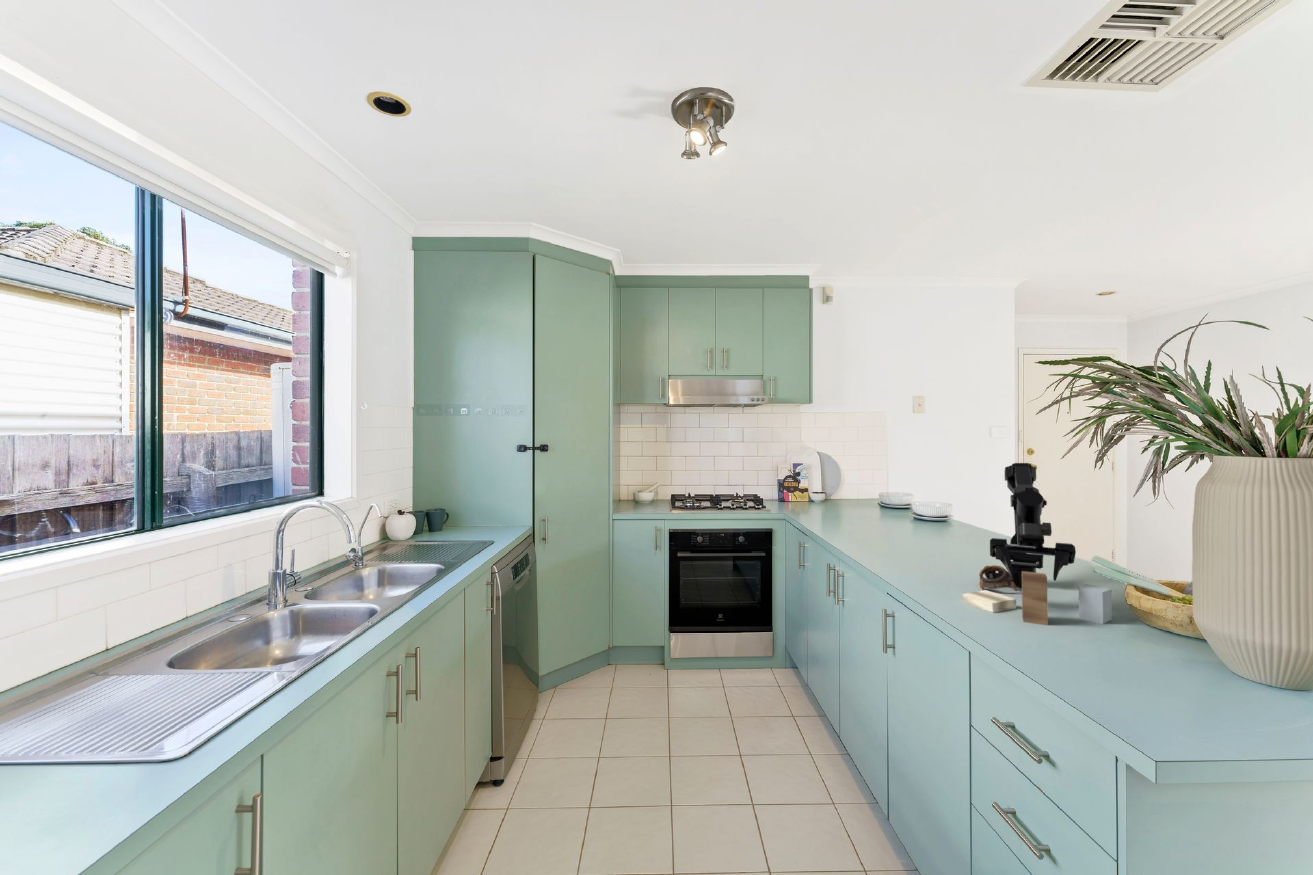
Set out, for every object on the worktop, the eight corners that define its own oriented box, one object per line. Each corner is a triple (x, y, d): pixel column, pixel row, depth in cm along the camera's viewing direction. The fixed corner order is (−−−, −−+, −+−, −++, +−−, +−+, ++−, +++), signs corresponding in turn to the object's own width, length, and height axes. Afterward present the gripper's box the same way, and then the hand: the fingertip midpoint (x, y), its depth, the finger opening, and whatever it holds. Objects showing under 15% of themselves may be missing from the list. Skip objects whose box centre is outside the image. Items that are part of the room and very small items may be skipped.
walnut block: (1022, 616, 139) (1021, 571, 139) (1045, 620, 136) (1045, 573, 136) (1023, 621, 135) (1022, 574, 135) (1047, 625, 133) (1047, 577, 133)
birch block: (985, 600, 154) (985, 589, 154) (1016, 609, 145) (1016, 598, 145) (962, 604, 151) (962, 593, 151) (992, 614, 142) (992, 603, 142)
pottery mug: (1025, 595, 158) (1016, 573, 156) (995, 608, 159) (985, 586, 158) (1001, 574, 170) (992, 553, 168) (973, 586, 171) (964, 566, 169)
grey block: (1088, 614, 139) (1087, 584, 139) (1111, 620, 135) (1111, 588, 135) (1079, 618, 137) (1078, 587, 137) (1102, 624, 133) (1102, 592, 133)
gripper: (989, 509, 148) (990, 556, 138) (1074, 513, 138) (1081, 564, 129) (989, 532, 154) (990, 579, 145) (1070, 538, 145) (1077, 588, 135)
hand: (1033, 577), depth 138 cm, fingers open, 9 cm apart
